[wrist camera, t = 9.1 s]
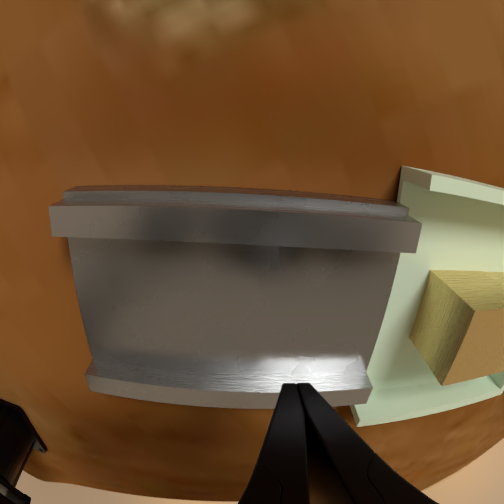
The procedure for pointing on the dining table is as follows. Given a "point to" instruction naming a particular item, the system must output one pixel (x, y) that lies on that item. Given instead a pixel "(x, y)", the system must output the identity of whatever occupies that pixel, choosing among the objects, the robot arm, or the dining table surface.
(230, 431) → the dining table surface
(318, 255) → the slot rail
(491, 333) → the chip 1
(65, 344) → the dining table surface
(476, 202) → the tray
